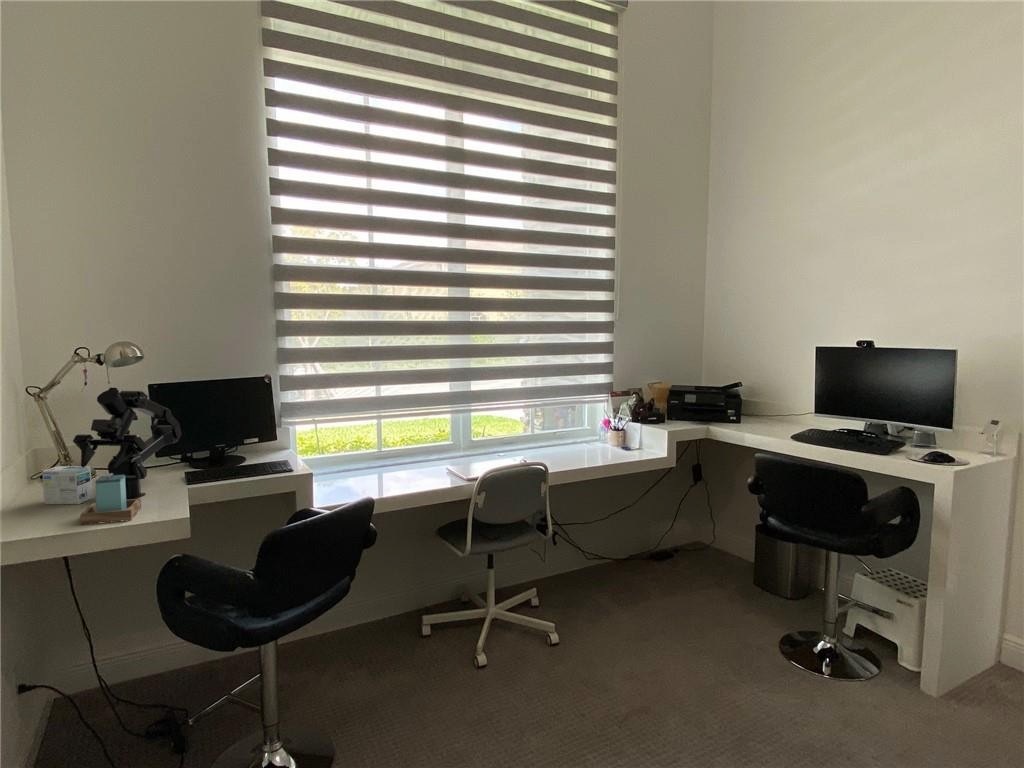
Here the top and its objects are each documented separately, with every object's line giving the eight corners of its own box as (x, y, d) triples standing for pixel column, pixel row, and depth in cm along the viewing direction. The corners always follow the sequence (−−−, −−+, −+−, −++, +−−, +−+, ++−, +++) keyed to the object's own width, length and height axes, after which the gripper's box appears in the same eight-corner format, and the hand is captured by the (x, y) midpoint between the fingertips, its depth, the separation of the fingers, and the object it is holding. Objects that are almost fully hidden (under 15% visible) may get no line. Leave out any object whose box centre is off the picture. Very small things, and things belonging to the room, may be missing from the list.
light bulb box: (93, 498, 188) (91, 465, 187) (78, 504, 182) (76, 470, 181) (59, 498, 188) (57, 465, 187) (43, 504, 181) (41, 470, 180)
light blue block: (102, 511, 172) (100, 472, 171) (126, 509, 175) (124, 471, 174) (97, 516, 167) (95, 477, 166) (121, 514, 170) (119, 475, 168)
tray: (94, 512, 175) (94, 502, 174) (141, 508, 179) (140, 498, 179) (81, 524, 163) (80, 514, 163) (131, 520, 168) (130, 510, 167)
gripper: (75, 408, 178) (50, 451, 168) (138, 408, 178) (117, 452, 168) (93, 429, 186) (71, 472, 176) (154, 429, 187) (135, 472, 177)
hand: (98, 466), depth 174 cm, fingers open, 9 cm apart
